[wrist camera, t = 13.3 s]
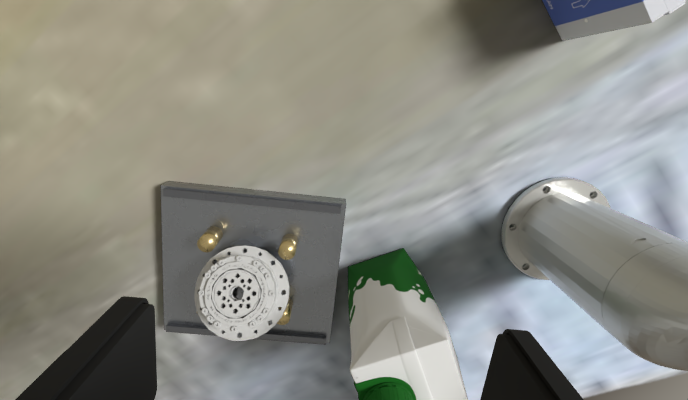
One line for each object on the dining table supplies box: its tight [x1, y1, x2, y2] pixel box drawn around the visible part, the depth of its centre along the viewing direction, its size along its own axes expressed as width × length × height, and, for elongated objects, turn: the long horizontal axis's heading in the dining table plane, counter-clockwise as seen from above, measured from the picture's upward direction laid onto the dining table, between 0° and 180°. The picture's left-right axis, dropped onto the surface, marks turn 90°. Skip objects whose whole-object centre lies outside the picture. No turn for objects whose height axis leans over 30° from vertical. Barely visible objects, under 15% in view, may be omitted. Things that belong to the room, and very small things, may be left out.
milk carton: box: [348, 248, 468, 400], centre depth 37 cm, size 9×9×20 cm
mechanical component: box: [195, 245, 289, 341], centre depth 40 cm, size 10×4×10 cm
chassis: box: [161, 181, 346, 345], centre depth 43 cm, size 20×18×5 cm
